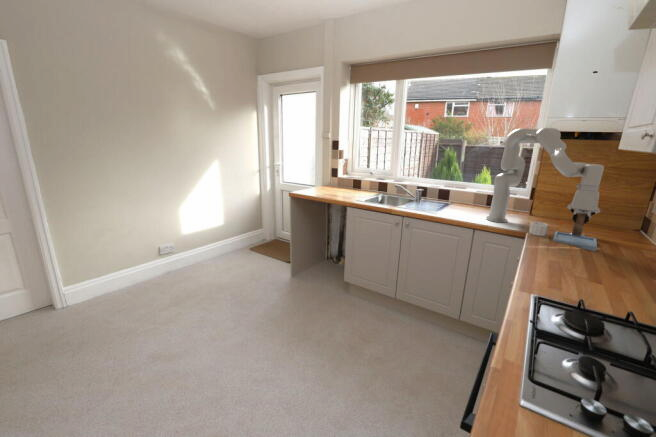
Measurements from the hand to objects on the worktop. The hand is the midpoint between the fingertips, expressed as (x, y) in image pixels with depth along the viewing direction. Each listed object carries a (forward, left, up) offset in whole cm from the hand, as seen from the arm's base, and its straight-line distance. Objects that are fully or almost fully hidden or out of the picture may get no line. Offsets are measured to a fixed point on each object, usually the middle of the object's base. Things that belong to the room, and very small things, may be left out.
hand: (579, 221), depth 161 cm
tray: (0, 0, -12) cm, 12 cm away
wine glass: (-15, +14, -12) cm, 24 cm away
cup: (-11, -13, -12) cm, 21 cm away
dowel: (0, 0, -7) cm, 7 cm away
